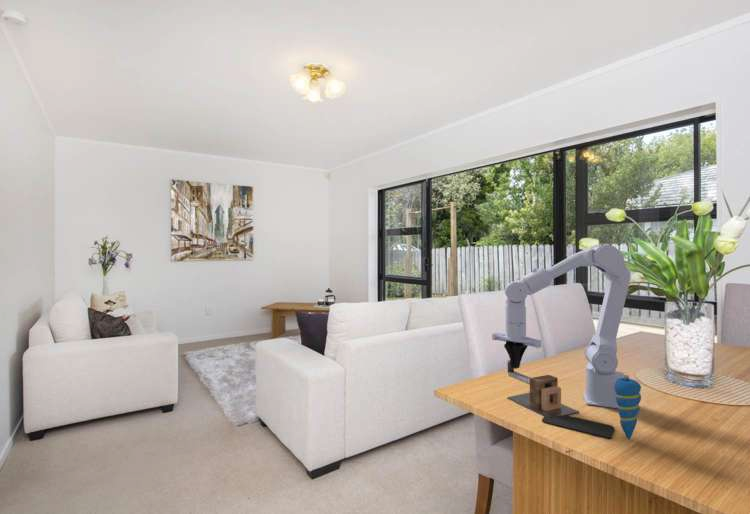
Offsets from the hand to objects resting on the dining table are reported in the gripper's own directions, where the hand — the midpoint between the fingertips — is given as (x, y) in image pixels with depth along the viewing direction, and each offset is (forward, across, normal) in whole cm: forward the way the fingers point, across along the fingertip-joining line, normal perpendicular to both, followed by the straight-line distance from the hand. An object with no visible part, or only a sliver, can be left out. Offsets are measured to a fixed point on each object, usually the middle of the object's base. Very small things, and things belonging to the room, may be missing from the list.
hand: (515, 367), depth 116 cm
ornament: (+8, -31, +8) cm, 33 cm away
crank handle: (+3, -3, +1) cm, 5 cm away
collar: (+7, -12, +4) cm, 15 cm away
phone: (+8, -20, +9) cm, 24 cm away
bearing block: (+8, -10, +3) cm, 13 cm away
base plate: (+8, -9, +3) cm, 12 cm away
